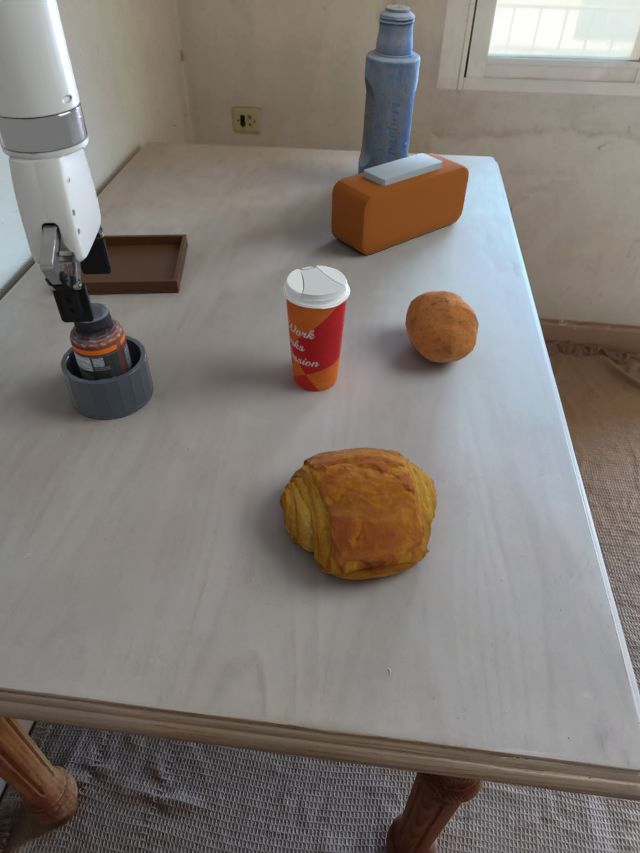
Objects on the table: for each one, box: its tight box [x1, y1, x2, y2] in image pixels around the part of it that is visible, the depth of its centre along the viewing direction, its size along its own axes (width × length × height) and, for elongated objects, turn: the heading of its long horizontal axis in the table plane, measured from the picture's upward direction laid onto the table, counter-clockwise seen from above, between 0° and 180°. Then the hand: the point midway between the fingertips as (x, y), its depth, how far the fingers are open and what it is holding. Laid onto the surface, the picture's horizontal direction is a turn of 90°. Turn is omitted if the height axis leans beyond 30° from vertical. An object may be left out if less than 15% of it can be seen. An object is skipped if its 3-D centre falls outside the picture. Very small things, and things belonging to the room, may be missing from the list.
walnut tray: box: [64, 233, 189, 295], centre depth 99 cm, size 17×15×2 cm
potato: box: [404, 290, 479, 364], centre depth 82 cm, size 9×11×8 cm
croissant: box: [279, 446, 438, 581], centre depth 61 cm, size 14×16×8 cm
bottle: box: [357, 4, 421, 174], centre depth 116 cm, size 10×10×30 cm
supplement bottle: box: [69, 302, 133, 380], centre depth 73 cm, size 6×6×11 cm
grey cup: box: [60, 335, 154, 421], centre depth 75 cm, size 10×10×6 cm
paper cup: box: [282, 264, 351, 392], centre depth 75 cm, size 8×8×14 cm
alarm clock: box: [330, 152, 470, 256], centre depth 107 cm, size 24×8×11 cm, turn 128°
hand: (88, 295), depth 68 cm, fingers open, 9 cm apart
